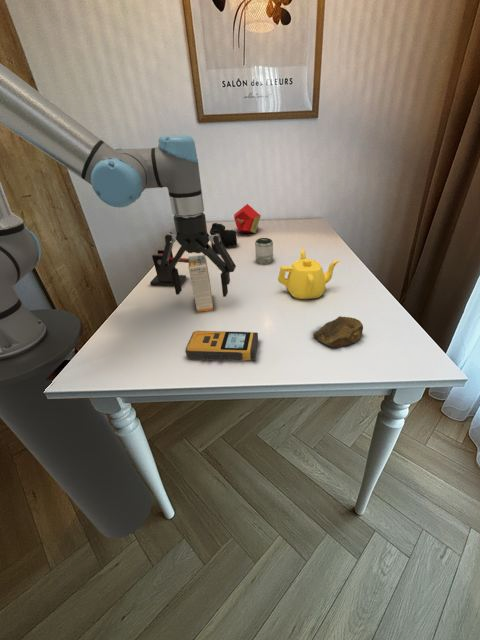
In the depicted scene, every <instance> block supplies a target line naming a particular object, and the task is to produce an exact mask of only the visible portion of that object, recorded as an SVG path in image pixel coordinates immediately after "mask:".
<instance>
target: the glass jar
mask: <svg viewBox="0 0 480 640" xmlns="http://www.w3.org/2000/svg"><path fill="white" fill-rule="evenodd" d="M254 246H255V247H254V249H255V252H254V253H255V260H256V263H257V264H259V265H269V264H272V263H273V259H274V241H273V240H272V239H271V238H268V237H259V238H257V239H256V240H255V242H254Z"/></svg>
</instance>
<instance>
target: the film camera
mask: <svg viewBox="0 0 480 640" xmlns="http://www.w3.org/2000/svg"><path fill="white" fill-rule="evenodd" d="M217 233H219V234H220V236H221V240H222V243H223V245H224V246H225V248H227V247H228V248H229V247H236V246H237V245H238V236H237V231H236V230H234V229H226V226H225V225H224V224H222V223H218V222H216V223H214V222H213V223H212V225H211V227H210V229H209V235H216V234H217ZM210 242H211V241H210ZM210 244H211V247H212V250H213V251H214V252H215V253H216V254H217V255H220V254H219V252H218V251H217V249H216V247H215V244H212V242H211V243H210Z"/></svg>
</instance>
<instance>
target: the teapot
mask: <svg viewBox="0 0 480 640" xmlns="http://www.w3.org/2000/svg"><path fill="white" fill-rule="evenodd" d="M340 262H341V259H336V260H333V261H332V262H331V263H330V264H329V266H328V269H327V271H326V272H324V270H323V268H322V265H321V264H320V262H319V261H318V260H316V259H311V258H306V251H305V249H303V248H301V249H300V257H299V259H298V260H295V261H293V263H292V265H288V266H287V265H281V266H280V269H279V273H278V277H277V281H278V283H280V284H282V285H283V286H285V287H286V288H287V290H288V292H289V293H290V295H291V296H292V297H293V298H295V299H301V300H302V299H303V300H305V299H317V298H319V297H321V296H322V295H323V294H324V292H325V291H326V284H328V283H329V282H330V281H331V280H332V277H333V273H334V269H335V267H336V265H337V264H338V263H340ZM286 272H287V273H288V274H287V278H286Z"/></svg>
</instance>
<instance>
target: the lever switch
mask: <svg viewBox="0 0 480 640" xmlns="http://www.w3.org/2000/svg"><path fill="white" fill-rule="evenodd" d="M157 255H163V253H160V254H158V253H157ZM174 257H175V256H173V257H170V258H169V261H172V260H173V258H174ZM178 263H186V264H189V257H187V258H185V257H181V258H180V260H179V261H178Z"/></svg>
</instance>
